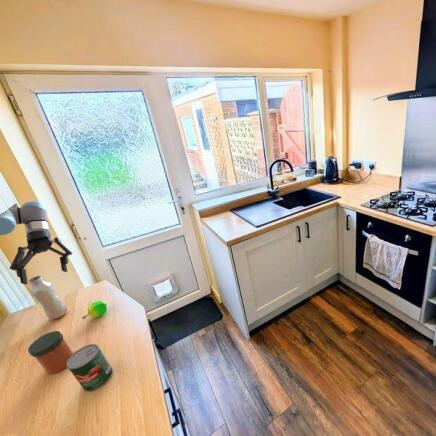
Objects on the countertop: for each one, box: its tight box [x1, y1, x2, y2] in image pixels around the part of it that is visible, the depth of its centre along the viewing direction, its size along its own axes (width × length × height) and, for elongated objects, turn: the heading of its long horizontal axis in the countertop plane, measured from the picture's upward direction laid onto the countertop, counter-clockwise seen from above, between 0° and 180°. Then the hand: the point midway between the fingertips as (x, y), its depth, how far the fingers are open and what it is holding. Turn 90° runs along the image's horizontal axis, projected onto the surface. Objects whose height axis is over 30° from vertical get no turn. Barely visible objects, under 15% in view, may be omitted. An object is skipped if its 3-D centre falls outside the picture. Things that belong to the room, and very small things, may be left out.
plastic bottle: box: [28, 275, 68, 320], centre depth 102 cm, size 6×7×20 cm
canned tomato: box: [67, 343, 114, 393], centre depth 75 cm, size 8×8×11 cm
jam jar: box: [34, 338, 75, 376], centre depth 82 cm, size 8×8×11 cm
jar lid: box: [27, 330, 64, 358], centre depth 80 cm, size 8×8×2 cm
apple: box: [81, 300, 108, 321], centre depth 102 cm, size 7×6×9 cm
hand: (45, 277), depth 105 cm, fingers open, 13 cm apart
